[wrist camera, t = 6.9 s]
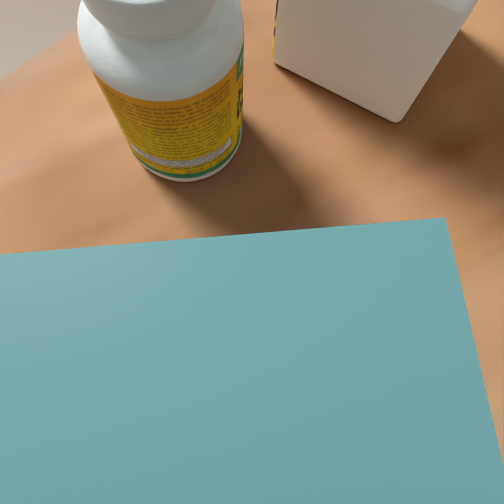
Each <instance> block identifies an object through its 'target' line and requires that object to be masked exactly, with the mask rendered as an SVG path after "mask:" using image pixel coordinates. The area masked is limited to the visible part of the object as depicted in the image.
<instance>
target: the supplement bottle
mask: <svg viewBox="0 0 504 504" xmlns="http://www.w3.org/2000/svg"><path fill="white" fill-rule="evenodd" d="M77 29H78V37H79V42H80V45H81V49H82V52H83V54H84V56H85V58H86V60H87V62H88V64H89V66H90V68H91V70H92V72H93V74H94V76H95V78H96V80H97V82H98V84H99V86H100V88H101V90H102V92H103V94H104V96H105V98H106V100H107V102H108V104H109V106H110V108H111V110H112V112H113V114H114V116H115V118H116V120H117V123H118V125H119V127H120V129H121V131H122V133H123V135H124V137H125V139H126V141H127V143H128V145H129V147H130V149H131V151H132V153H133V154H134V156H135V157H136V159H137V160H138V161H139V162H140V163H141V164H142V165H143V166H144V167H145V168H146V169H148V170H149V171H151V172H152V173H154V174H156V175H158V176H161V177H163V178H166V179H169V180H173V181H180V182H189V181H197V180H201V179H204V178H207V177H209V176H211V175H214V174H215V173H217V172H219V171H220V170H222V169H223V168H224V167H225V166H226V165H227V164H228V163H229V162H230V160H231V159H232V157H233V156H234V154H235V153H236V151H237V149H238V147H239V144H240V141H241V137H242V128H243V127H242V125H243V58H244V56H243V54H244V25H243V16H242V11H241V7H240V4H239V2H238V0H81V3H80V7H79V11H78V18H77Z"/></svg>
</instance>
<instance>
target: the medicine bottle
mask: <svg viewBox="0 0 504 504" xmlns="http://www.w3.org/2000/svg"><path fill="white" fill-rule="evenodd" d="M476 2H477V0H277V5H276V16H275V26H274V36H273V46H272V59H273V62H275V63H276V64H278V65H280V66H282V67H284V68H286V69H288V70H290V71H292V72H294V73H296V74H298V75H300V76H302V77H304V78H306V79H308V80H310V81H312V82H314V83H316V84H318V85H320V86H322V87H324V88H326V89H328V90H330V91H332V92H334V93H336V94H338V95H340V96H341V97H343V98H345V99H347V100H349V101H351V102H353V103H355V104H357V105H359V106H361V107H363V108H365V109H367V110H369V111H371V112H373V113H375V114H377V115H379V116H381V117H383V118H385V119H387V120H389V121H391V122H395V123H396V122H399V121H401V120H402V119H403V117H404V116H405V114H406V113H407V111H408V110H409V108H410V106H411V105H412V103H413V102H414V100H415V99H416V97H417V96H418V94H419V92H420V91H421V89H422V88H423V86H424V85H425V83H426V82H427V80H428V78H429V77H430V75H431V74H432V72H433V71H434V69H435V67H436V66H437V64H438V63H439V61H440V60H441V58H442V57H443V55H444V53H445V52H446V50H447V49H448V47H449V46H450V44H451V43H452V41H453V39H454V38H455V36H456V35H457V33H458V32H459V30H460V28H461V27H462V25H463V24H464V22H465V21H466V19H467V18H468V16H469V14H470V13H471V11H472V10H473V8H474V6H475V4H476Z"/></svg>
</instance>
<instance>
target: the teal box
mask: <svg viewBox="0 0 504 504" xmlns="http://www.w3.org/2000/svg"><path fill="white" fill-rule="evenodd" d="M0 504H504V467H503V463H502V459H501V454H500V450H499V446H498V442H497V437H496V433H495V429H494V424H493V420H492V416H491V412H490V407H489V403H488V399H487V395H486V390H485V386H484V382H483V377H482V373H481V369H480V365H479V360H478V356H477V352H476V348H475V343H474V339H473V335H472V330H471V326H470V322H469V318H468V313H467V309H466V305H465V301H464V296H463V292H462V288H461V283H460V279H459V275H458V271H457V266H456V262H455V258H454V254H453V249H452V245H451V241H450V236H449V232H448V228H447V224H446V219H445V218H433V219H421V220H409V221H397V222H385V223H373V224H361V225H349V226H337V227H325V228H313V229H301V230H289V231H277V232H265V233H253V234H241V235H229V236H217V237H205V238H193V239H181V240H169V241H157V242H145V243H133V244H121V245H109V246H97V247H85V248H73V249H61V250H49V251H36V252H24V253H12V254H0Z"/></svg>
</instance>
